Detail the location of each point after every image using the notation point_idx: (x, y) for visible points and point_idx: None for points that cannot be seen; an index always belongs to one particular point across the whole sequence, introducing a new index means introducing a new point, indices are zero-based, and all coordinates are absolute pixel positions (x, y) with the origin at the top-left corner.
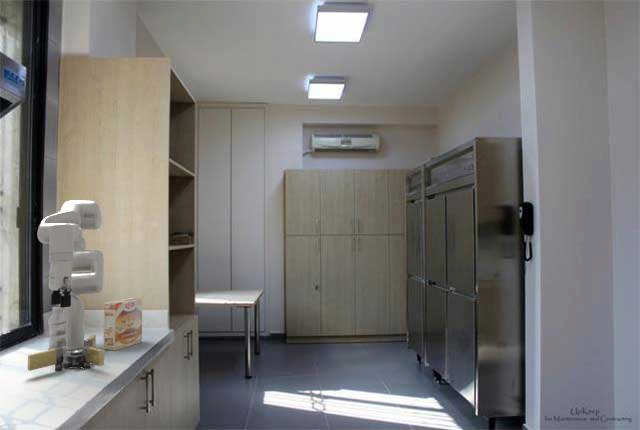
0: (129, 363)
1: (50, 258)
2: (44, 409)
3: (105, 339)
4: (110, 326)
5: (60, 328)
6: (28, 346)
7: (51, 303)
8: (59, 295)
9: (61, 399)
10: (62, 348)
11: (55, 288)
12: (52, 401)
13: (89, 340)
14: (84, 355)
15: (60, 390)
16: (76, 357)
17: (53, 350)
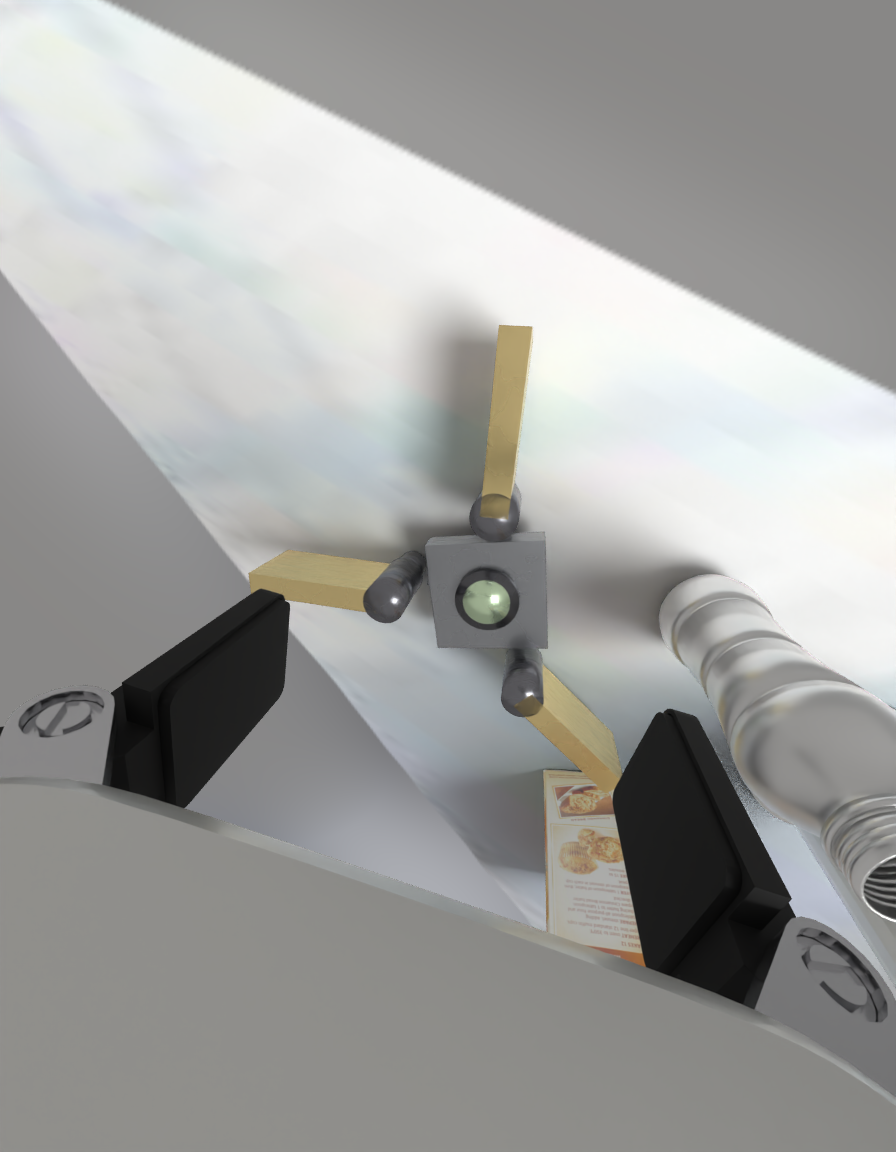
0: (327, 665)
1: None
2: (44, 154)
3: (611, 810)
4: (584, 876)
5: (725, 698)
6: None
7: (684, 720)
8: (651, 916)
9: (112, 265)
10: (478, 531)
11: (11, 822)
12: (112, 228)
13: (507, 697)
14: (386, 570)
15: (219, 327)
16: (426, 552)
17: (484, 478)
